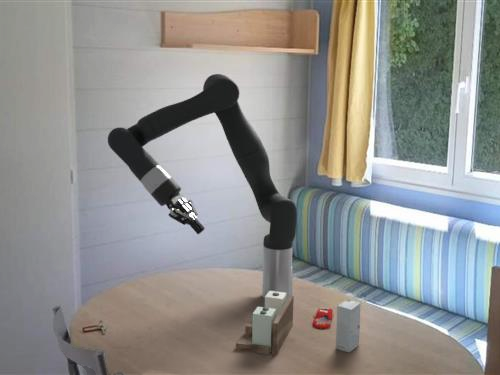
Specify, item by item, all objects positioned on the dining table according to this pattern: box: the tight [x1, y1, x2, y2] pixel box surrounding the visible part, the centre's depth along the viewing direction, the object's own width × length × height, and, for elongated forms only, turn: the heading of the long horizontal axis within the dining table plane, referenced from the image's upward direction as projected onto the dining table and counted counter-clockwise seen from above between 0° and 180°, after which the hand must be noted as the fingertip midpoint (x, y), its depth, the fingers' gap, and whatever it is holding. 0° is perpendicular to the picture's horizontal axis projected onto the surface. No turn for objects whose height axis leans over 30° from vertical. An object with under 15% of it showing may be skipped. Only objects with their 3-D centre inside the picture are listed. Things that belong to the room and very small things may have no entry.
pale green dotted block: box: [251, 306, 276, 353], centre depth 166 cm, size 5×5×10 cm
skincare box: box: [335, 299, 362, 353], centre depth 170 cm, size 6×4×12 cm
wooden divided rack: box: [235, 295, 295, 356], centre depth 173 cm, size 15×19×10 cm
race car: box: [311, 307, 334, 331], centre depth 184 cm, size 13×5×4 cm, turn 165°
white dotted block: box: [264, 291, 287, 317], centre depth 177 cm, size 5×5×10 cm
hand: (201, 231), depth 177 cm, fingers closed
